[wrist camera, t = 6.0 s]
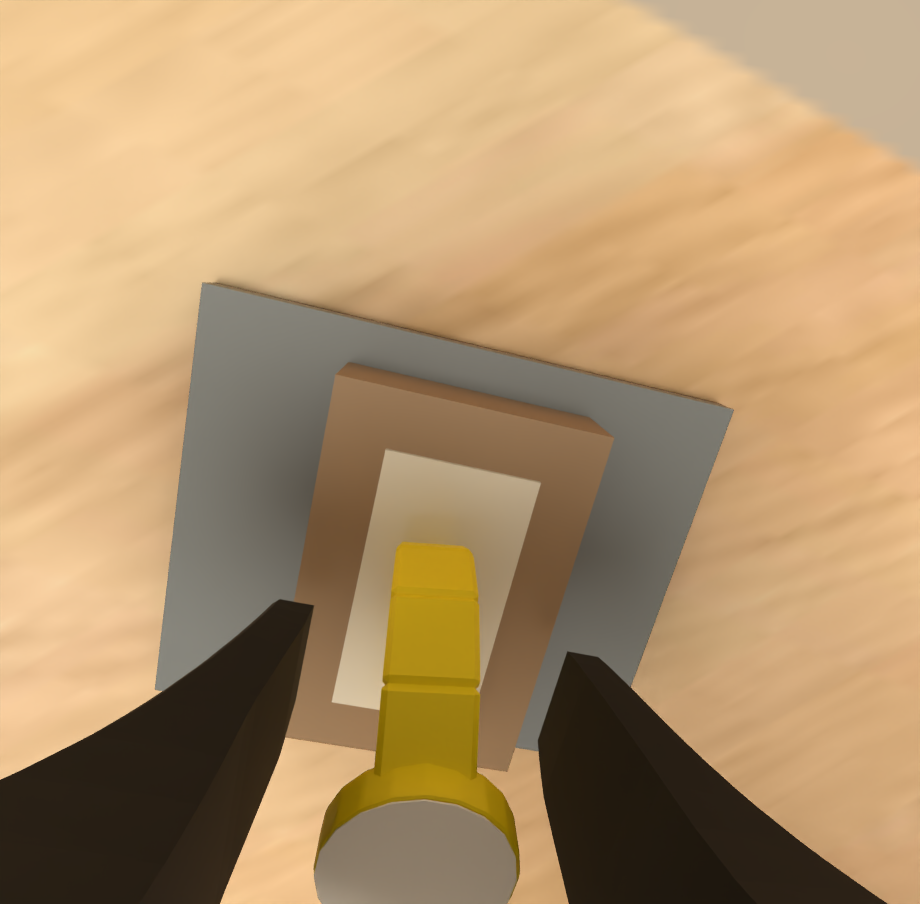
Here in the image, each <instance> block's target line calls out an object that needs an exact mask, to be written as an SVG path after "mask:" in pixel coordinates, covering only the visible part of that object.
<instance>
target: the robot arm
mask: <svg viewBox="0 0 920 904" xmlns="http://www.w3.org/2000/svg"><path fill="white" fill-rule="evenodd" d="M313 609H314V605H310V604H304V603H299V602H293V601H288V600H282V599H279V600H277V601H276V602H274V603H272V604H271V605H270V606H269V607H268V608H267V609H266V610H265V611H264V612H263V613H262V614H261V615H260V616H259V617H257V618H256V619H255V620H254V621H253V622H252V623H251V624H250V625H248V626H247V627H246V628H245V629H244V630H243V631H241V632H240V633H239V634H238V635H237V636H236V637H234V638H233V639H232V640H231V641H229V642H228V643H227V644H226V645H224V646H223V647H222V648H221V649H219V650H218V651H217V652H216V653H214V654H213V655H212V656H211V657H209V658H208V659H207V660H206V661H204V662H203V663H202V664H200V665H199V666H198V667H196V668H195V669H193V670H192V671H191V672H189V673H188V674H186V675H185V676H183V677H182V678H181V679H179V680H178V681H176V682H175V683H174V684H172V685H171V686H169V687H168V688H167V689H165V690H164V691H162V692H161V693H159V694H158V695H156V696H155V697H153V698H152V699H150V700H149V701H147V702H146V703H144V704H142V705H141V706H139V707H138V708H136V709H134V710H133V711H131V712H130V713H128V714H126V715H125V716H123V717H121V718H120V719H118V720H116V721H115V722H113V723H111V724H109V725H108V726H106V727H104V728H103V729H101V730H99V731H97V732H96V733H94V734H92V735H90V736H88V737H86V738H84V739H83V740H81V741H79V742H77V743H75V744H73V745H71V746H69V747H67V748H65V749H63V750H61V751H59V752H57V753H55V754H53V755H51V756H49V757H47V758H45V759H43V760H41V761H39V762H37V763H35V764H33V765H31V766H29V767H27V768H25V769H23V770H21V771H19V772H17V773H14V774H12V775H10V776H8V777H6V778H3V779H1V780H0V904H220V902H221V899H222V897H223V894H224V891H225V889H226V886H227V884H228V882H229V879H230V877H231V874H232V872H233V869H234V867H235V864H236V862H237V860H238V857H239V855H240V852H241V850H242V847H243V845H244V842H245V840H246V838H247V835H248V833H249V830H250V828H251V825H252V823H253V820H254V818H255V816H256V813H257V811H258V808H259V806H260V803H261V801H262V798H263V796H264V793H265V791H266V789H267V786H268V784H269V781H270V779H271V776H272V774H273V771H274V769H275V766H276V764H277V761H278V759H279V756H280V753H281V749H282V746H283V743H284V739H285V736H286V733H287V729H288V726H289V722H290V719H291V715H292V712H293V708H294V705H295V701H296V696H297V691H298V686H299V681H300V676H301V671H302V665H303V660H304V655H305V650H306V645H307V640H308V634H309V629H310V624H311V619H312V614H313ZM538 750H539V760H540V770H541V779H542V787H543V795H544V800H545V805H546V809H547V813H548V818H549V822H550V826H551V831H552V835H553V839H554V844H555V848H556V852H557V856H558V860H559V864H560V869H561V873H562V877H563V881H564V885H565V889H566V893H567V898H568V902H569V904H887V903H886V902H884V901H883V900H881V899H880V898H878V897H877V896H875V895H874V894H872V893H871V892H870V891H868V890H867V889H865V888H864V887H863V886H861V885H860V884H858V883H857V882H855V881H854V880H853V879H851V878H850V877H848V876H847V875H846V874H844V873H843V872H841V871H840V870H838V869H837V868H836V867H834V866H833V865H831V864H830V863H829V862H827V861H826V860H824V859H823V858H822V857H820V856H819V855H818V854H816V853H815V852H814V851H812V850H811V849H810V848H808V847H807V846H806V845H804V844H803V843H802V842H800V841H799V840H798V839H796V838H795V837H794V836H793V835H791V834H790V833H789V832H788V831H786V830H785V829H784V828H783V827H781V826H780V825H779V824H778V823H776V822H775V821H774V820H773V819H771V818H770V817H769V816H768V815H766V814H765V813H764V812H763V811H761V810H760V809H759V808H758V807H757V806H755V805H754V804H753V803H752V802H751V801H749V800H748V799H747V798H746V797H745V796H744V795H742V794H741V793H740V792H739V791H738V790H737V789H735V788H734V787H733V786H732V785H731V784H730V783H729V782H728V781H726V780H725V779H724V778H723V777H722V776H721V775H720V774H719V773H718V772H717V771H715V770H714V769H713V768H712V767H711V766H710V765H709V764H708V763H707V762H706V761H704V760H703V759H702V758H701V757H700V756H699V755H698V754H697V753H696V752H695V751H694V750H693V749H692V748H691V747H690V746H689V745H687V744H686V743H685V742H684V741H683V740H682V739H681V738H680V737H679V736H678V735H677V734H676V733H675V732H674V731H673V730H672V729H671V728H670V727H669V726H668V725H667V724H666V723H665V722H664V721H663V720H662V719H661V718H660V717H659V716H658V715H657V714H656V713H655V712H654V711H653V710H652V709H651V708H650V707H649V706H648V705H647V704H646V703H645V702H644V701H643V700H642V699H641V698H640V697H639V696H638V695H637V694H636V693H635V692H634V691H633V690H632V689H631V688H630V687H629V686H628V684H627V683H626V682H625V681H624V680H622V679H621V678H620V677H619V676H618V675H617V674H616V673H615V672H614V671H613V670H612V669H611V668H610V667H609V666H608V665H607V664H606V663H605V662H604V661H602V660H601V659H600V658H599V657H596V656H590V655H585V654H579V653H574V652H568V651H567V654H566V657H565V660H564V663H563V666H562V669H561V672H560V675H559V678H558V681H557V684H556V687H555V690H554V693H553V696H552V699H551V702H550V705H549V708H548V711H547V714H546V717H545V720H544V723H543V726H542V729H541V732H540V735H539V738H538Z"/></svg>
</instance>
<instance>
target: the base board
mask: <svg viewBox="0 0 920 904" xmlns="http://www.w3.org/2000/svg"><path fill="white" fill-rule="evenodd" d="M733 411H734V410H733V409H731V408H728V407H726V406H724V405H721V404H719V403H714V402H710V401H706V400H702V399H698V398H694V397H689V396H685V395H681V394H677V393H673V392H669V391H664V390H660V389H656V388H652V387H648V386H644V385H639V384H635V383H631V382H627V381H623V380H619V379H614V378H610V377H606V376H602V375H598V374H593V373H589V372H585V371H581V370H577V369H573V368H568V367H564V366H560V365H556V364H552V363H548V362H543V361H539V360H535V359H531V358H527V357H523V356H518V355H514V354H510V353H506V352H502V351H498V350H493V349H489V348H485V347H481V346H477V345H472V344H468V343H464V342H460V341H456V340H452V339H447V338H443V337H439V336H435V335H431V334H427V333H422V332H418V331H414V330H410V329H406V328H402V327H397V326H393V325H389V324H385V323H381V322H377V321H372V320H368V319H364V318H360V317H356V316H351V315H347V314H343V313H339V312H335V311H331V310H326V309H322V308H318V307H314V306H310V305H306V304H301V303H297V302H293V301H289V300H285V299H281V298H276V297H272V296H268V295H264V294H260V293H256V292H251V291H247V290H243V289H239V288H235V287H230V286H226V285H222V284H218V283H202V288H201V297H200V305H199V314H198V322H197V331H196V340H195V348H194V357H193V365H192V374H191V383H190V391H189V400H188V408H187V417H186V426H185V434H184V443H183V451H182V460H181V469H180V477H179V486H178V494H177V503H176V512H175V520H174V529H173V537H172V546H171V555H170V563H169V572H168V581H167V589H166V598H165V606H164V615H163V624H162V632H161V641H160V649H159V658H158V667H157V675H156V684H155V690H159V691H164V690H165V689H167V688H168V687H169V686H171V685H172V684H174V683H175V682H176V681H178V680H179V679H181V678H182V677H183V676H185V675H186V674H188V673H189V672H191V671H192V670H193V669H195V668H196V667H198V666H199V665H200V664H202V663H203V662H204V661H206V660H207V659H208V658H209V657H211V656H212V655H213V654H214V653H216V652H217V651H218V650H219V649H221V648H222V647H223V646H224V645H226V644H227V643H228V642H229V641H231V640H232V639H233V638H234V637H236V636H237V635H238V634H239V633H240V632H241V631H243V630H244V629H245V628H246V627H247V626H248V625H250V624H251V623H252V622H253V621H254V620H255V619H256V618H257V617H259V616H260V615H261V614H262V613H263V612H264V611H265V610H266V609H267V608H268V607H269V606H270V605H271V604H272V603H274V602H276V601H277V600H279V599H282V600H288V601H293V602H299V603H304V604H310V605H314V609H313V614H312V619H311V624H310V629H309V634H308V640H307V645H306V650H305V655H304V660H303V665H302V671H301V676H300V681H299V686H298V691H297V696H296V701H295V705H294V708H293V712H292V715H291V719H290V722H289V726H288V729H287V733H286V736H285V737H286V738H293V739H299V740H306V741H312V742H319V743H325V744H332V745H338V746H344V747H351V748H357V749H364V750H370V751H376V744H377V733H378V722H379V711H380V699H381V689H382V687H383V686H384V685H385V684H384V683H383V682H382V679H383V667H384V657H385V647H386V637H387V627H388V617H389V607H390V599H391V588H392V580H393V572H394V563H395V555H396V549H397V547H398V545H400V544H401V543H402V542H415V543H429V544H444V545H458V546H464V547H466V548H468V549H469V550H470V551H471V553H472V554H473V557H474V563H475V571H476V579H477V587H478V594H479V598H478V604H479V623H480V684H479V687H478V688H477V689H476V690H477V691H478V692H479V694H480V712H479V734H478V757H477V767H480V768H486V769H493V770H499V771H506V772H507V771H508V768H509V765H510V762H511V759H512V755H513V752H514V749H515V748H521V749H527V750H534V751H539V750H538V738H539V735H540V732H541V729H542V726H543V723H544V720H545V717H546V714H547V711H548V708H549V705H550V702H551V699H552V696H553V693H554V690H555V687H556V684H557V681H558V678H559V675H560V672H561V669H562V666H563V663H564V660H565V657H566V654H567V651H568V652H574V653H579V654H585V655H590V656H596V657H599V658H600V659H601V660H602V661H604V662H605V663H606V664H607V665H608V666H609V667H610V668H611V669H612V670H613V671H614V672H615V673H616V674H617V675H618V676H619V677H620V678H621V679H622V680H624V681H625V682H626V683H627V684H628V686H629V687H631V684H632V682H633V679H634V676H635V674H636V671H637V668H638V666H639V663H640V660H641V658H642V655H643V652H644V650H645V647H646V644H647V642H648V639H649V636H650V634H651V631H652V628H653V626H654V623H655V620H656V617H657V615H658V612H659V609H660V607H661V604H662V601H663V599H664V596H665V593H666V591H667V588H668V585H669V583H670V580H671V577H672V575H673V572H674V569H675V567H676V564H677V561H678V559H679V556H680V553H681V550H682V548H683V545H684V542H685V540H686V537H687V534H688V532H689V529H690V526H691V524H692V521H693V518H694V516H695V513H696V510H697V508H698V505H699V502H700V500H701V497H702V494H703V492H704V489H705V486H706V483H707V481H708V478H709V475H710V473H711V470H712V467H713V465H714V462H715V459H716V457H717V454H718V451H719V449H720V446H721V443H722V441H723V438H724V435H725V433H726V430H727V427H728V425H729V422H730V419H731V417H732V414H733Z"/></svg>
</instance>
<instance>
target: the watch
mask: <svg viewBox="0 0 920 904" xmlns="http://www.w3.org/2000/svg"><path fill="white" fill-rule="evenodd" d="M478 598H479V594H478V587H477V579H476V571H475V563H474V557H473V554H472V553H471V551H470V550H469V549H468V548H466V547H464V546H458V545H444V544H429V543H415V542H402V543H401V544H400V545H398V547H397V549H396V555H395V563H394V572H393V580H392V588H391V599H390V607H389V617H388V627H387V637H386V647H385V657H384V667H383V679H382V682H383V683H384V684H385V685H384V686H383V687H382V689H381V699H380V711H379V722H378V733H377V744H376V756H375V767H374V768H373V769H370V770H367V771H366V772H364V773H362V774H361V775H360V776H358V777H357V778H355V779H354V780H352V781H351V782H350V783H348V784H347V785H345V786H344V787H343V788H342V789H341V790H340V791H339V793H338V794H337V795H336V797H335V798H334V800H333V801H332V802H331V804H330V805H329V806H328V808H327V810H326V813H325V816H324V820H323V824H322V828H321V833H320V838H319V843H318V848H317V853H316V858H315V863H314V879H315V885H316V890H317V895H318V899H319V900H320V902H321V903H322V904H507V903H508V901H509V899H510V898H511V896H512V894H513V891H514V889H515V886H516V884H517V881H518V878H519V874H520V861H519V848H518V841H517V834H516V828H515V821H514V816H513V813H512V811H511V809H510V807H509V805H508V803H507V801H506V799H505V797H504V795H503V793H502V792H501V791H500V790H499V789H497V788H496V787H495V786H494V785H493V784H492V783H491V782H490V781H489V780H488V779H487V778H486V777H484V776H483V775H481V774H479V773H477V757H478V734H479V712H480V694H479V692H478V691H477V690H476V689H477V688H478V687H479V684H480V623H479V604H478Z"/></svg>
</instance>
